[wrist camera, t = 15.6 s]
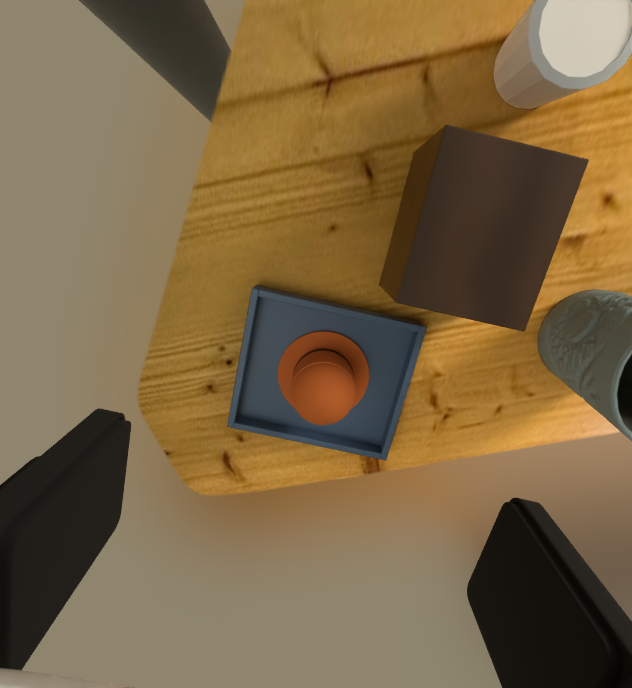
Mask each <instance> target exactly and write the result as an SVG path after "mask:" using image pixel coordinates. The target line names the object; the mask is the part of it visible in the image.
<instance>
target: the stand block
mask: <svg viewBox="0 0 632 688" xmlns="http://www.w3.org/2000/svg"><path fill="white" fill-rule="evenodd" d="M588 161H589V160H588V159H584V158H580V157H576V156H572V155H568V154H564V153H560V152H556V151H552V150H548V149H543V148H539V147H535V146H531V145H527V144H523V143H519V142H515V141H511V140H507V139H503V138H498V137H494V136H490V135H486V134H482V133H478V132H474V131H470V130H466V129H462V128H457V127H453V126H449V125H445V126H444V127H443V128H442V129H440V130H439V131H438V132H437V133H436V134H435V135H433V136H432V137H431V138H430V139H429V140H428V141H426V142H425V143H424V144H423V145H422V146H421V147H420V148H418V149H417V150H416V151H415V152H414V155H413V159H412V162H411V166H410V170H409V174H408V178H407V181H406V185H405V189H404V193H403V196H402V200H401V204H400V208H399V212H398V215H397V219H396V223H395V227H394V230H393V234H392V238H391V242H390V246H389V249H388V253H387V257H386V261H385V264H384V268H383V272H382V276H381V279H380V283H379V285H380V286H381V287H382V288H383V289H384V290H385V291H386V292H387V293H388V294H389V295H390V297H391V298H392V299H393V300H394V301H395V302H396V303H400V304H404V305H409V306H413V307H418V308H422V309H426V310H431V311H435V312H440V313H444V314H449V315H453V316H457V317H462V318H466V319H471V320H475V321H480V322H484V323H488V324H493V325H497V326H502V327H506V328H510V329H515V330H519V331H525V329H526V326H527V323H528V321H529V318H530V315H531V313H532V310H533V307H534V305H535V302H536V299H537V297H538V294H539V291H540V289H541V286H542V283H543V281H544V278H545V275H546V273H547V270H548V267H549V265H550V262H551V259H552V257H553V254H554V251H555V249H556V246H557V243H558V241H559V238H560V235H561V233H562V230H563V227H564V225H565V222H566V219H567V217H568V214H569V211H570V209H571V206H572V203H573V201H574V198H575V195H576V193H577V190H578V187H579V185H580V182H581V179H582V177H583V174H584V171H585V169H586V166H587V163H588Z"/></svg>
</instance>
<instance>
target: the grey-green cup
mask: <svg viewBox="0 0 632 688" xmlns="http://www.w3.org/2000/svg"><path fill="white" fill-rule="evenodd" d="M538 350H539V354H540V357H541V359H542V361H543V363H544V365H545V366H546V367H547V368H548V370H549V371H550V372H552V373H553V374H554V375H555V376H557V377H558V378H559V379H561V380H562V381H563V382H564V383H565V384H566V385H568V386H569V387H570V388H571V389H572V390H573V391H574V392H575V393H577V394H578V395H579V396H580V397H582V398H584V400H585V401H586V402H587V403H588V404H589V405H591V406H592V407H593V408H594V409H595V410H597V411H598V412H599V413H600V414H601V415H603V416H604V417H605V418H606V419H607V420H608V421H609V422H610V423H612V424H613V425H614V426H615V427H616V428H617V429H618V430H620V431H621V432H622V433H623V434H624V435H625V436H626V437H627V438H629V439H630V440H631V441H632V296H629V295H627V294H624V293H621V292H615V291H606V290H588V291H583V292H580V293H576V294H574V295H571V296H569V297H567V298H566V299H564V300H562V301H561V302H560V303H558V304H557V305H556V306H555V307H554V308H553V309H552V310H551V311H550V312H549V314H548V315H547V316H546V318H545V319H544V321H543V323H542V325H541V328H540V331H539V336H538Z"/></svg>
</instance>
